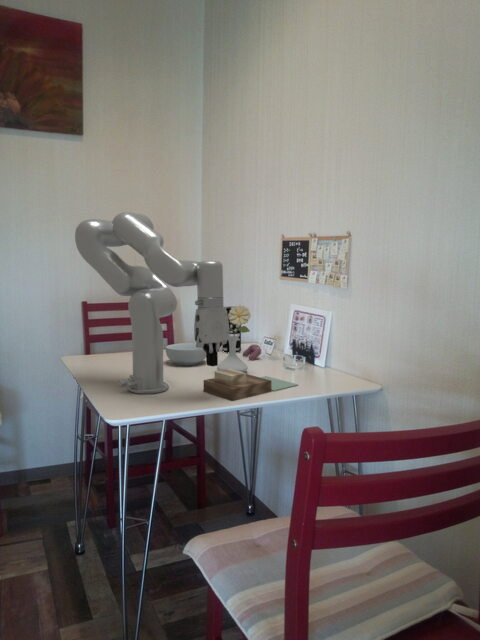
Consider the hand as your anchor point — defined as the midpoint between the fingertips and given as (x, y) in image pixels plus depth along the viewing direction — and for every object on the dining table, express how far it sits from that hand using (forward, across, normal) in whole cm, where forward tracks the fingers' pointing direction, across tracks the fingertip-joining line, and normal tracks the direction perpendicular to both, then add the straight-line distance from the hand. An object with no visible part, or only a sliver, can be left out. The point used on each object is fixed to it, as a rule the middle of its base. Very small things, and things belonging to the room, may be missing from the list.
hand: (212, 365), depth 143 cm
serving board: (+10, +10, +1) cm, 15 cm away
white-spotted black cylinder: (+9, +52, +53) cm, 75 cm away
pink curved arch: (+10, +50, +36) cm, 62 cm away
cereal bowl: (+9, +23, +45) cm, 51 cm away
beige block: (+5, +8, +1) cm, 9 cm away
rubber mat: (+10, +25, +1) cm, 27 cm away
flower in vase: (+10, +26, +21) cm, 35 cm away
